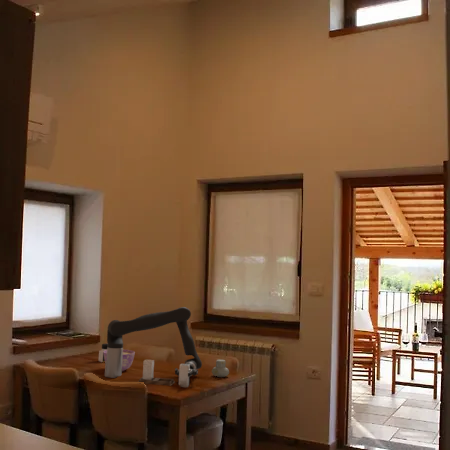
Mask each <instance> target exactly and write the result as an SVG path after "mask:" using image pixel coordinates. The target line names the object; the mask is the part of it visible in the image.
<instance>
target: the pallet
mask: <svg viewBox="0 0 450 450" xmlns="http://www.w3.org/2000/svg"><path fill="white" fill-rule="evenodd" d="M138 382H144V383H145V385H154V386H155V385H157V386H159V385H160V386H173V385H174V384H175V383H176V381H175V379H174V378H164V377H163V378H162V377H153V381H151V380H143V376H142V377H140V379H138Z"/></svg>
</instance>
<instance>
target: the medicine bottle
mask: <svg viewBox="0 0 450 450" xmlns="http://www.w3.org/2000/svg"><path fill="white" fill-rule="evenodd" d="M107 347H108V344H107V343H103V344H101V349H100V350H98V362H100V363H102V362H105V359H104V353H103V351H105V350H107Z"/></svg>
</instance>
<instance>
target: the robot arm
mask: <svg viewBox="0 0 450 450" xmlns="http://www.w3.org/2000/svg"><path fill="white" fill-rule="evenodd" d="M191 315H192V312H191V310H190V309H189V308H187V307H185V306H181V307H178V308H176V309H173V310H169V311H168V310H167V311H159V312H153V313H146V314H143V315H141V316H138V317H135V318H134V319H131V320H129V319H128V320H121V321H120V320H118V319H114V320H111V321H110V322H109V323H108V325H107V335H106V337H107V339H106V342H107V343H106V344H108V347H107V360H106V361H105V363H104V364H105V366H104V377H105V378H112V379H113V378H114V379H116V378H119V377H121V376H122V372H123V371H122V356H123V350H124V340H123V336H125V335H129V334H131V333H134V332H140V331H141V332H143V331H147V330H152V329H156V328H160V327H163V326H166V325H169V324H172V323H176V325H177V328H178V332H179V334H180V338H181V341H182V346H183V350H184V355H186V356H192V357H191V358H190V359H186V360H185V361H184V364H190V372H188V377H189V378H190V377H192V376H193V377H195V376H197V375H198V374H199V370H200V369H201V368H202V366H203V362H202V360H201V358H200V356H199V354H198V352H197V349H196V345H195V342H194V339H193V336H192V333H191V332H190V330H189V329H190V328H189V325H188V320H189V319H190V318H191ZM174 374H175V375H176V376H178V377H179V369H178V368H177V367H176V368H175V369H174Z"/></svg>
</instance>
